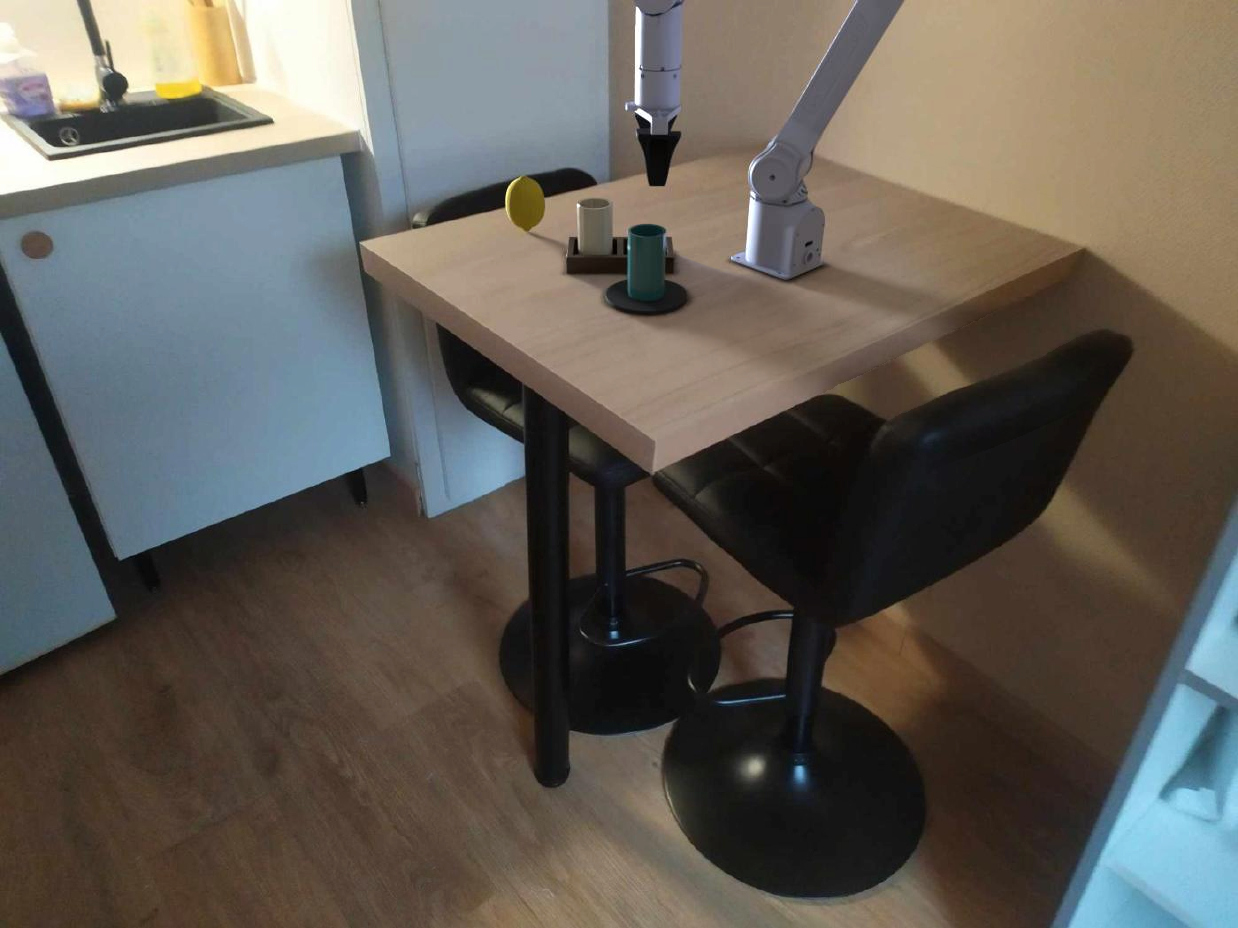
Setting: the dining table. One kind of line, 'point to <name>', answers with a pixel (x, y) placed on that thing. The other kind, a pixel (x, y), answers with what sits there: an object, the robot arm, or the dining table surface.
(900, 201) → the dining table surface
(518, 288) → the dining table surface
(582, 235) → the cream cup
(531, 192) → the lemon
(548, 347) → the dining table surface
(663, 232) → the teal cup
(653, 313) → the coaster
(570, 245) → the holder
